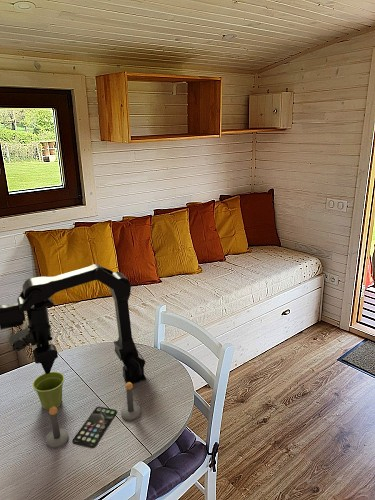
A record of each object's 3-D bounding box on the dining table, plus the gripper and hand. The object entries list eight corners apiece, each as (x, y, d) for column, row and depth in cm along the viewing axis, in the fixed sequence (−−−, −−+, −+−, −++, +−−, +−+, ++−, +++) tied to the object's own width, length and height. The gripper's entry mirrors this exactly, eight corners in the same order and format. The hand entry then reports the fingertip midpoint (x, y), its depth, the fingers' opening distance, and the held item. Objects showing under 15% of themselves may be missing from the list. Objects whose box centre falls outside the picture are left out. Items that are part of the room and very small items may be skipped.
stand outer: (66, 428, 112) (61, 397, 108) (70, 443, 107) (66, 410, 103) (45, 436, 109) (39, 404, 106) (48, 451, 104) (42, 418, 101)
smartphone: (118, 410, 119) (94, 447, 105) (118, 412, 119) (94, 449, 105) (97, 405, 121) (70, 441, 107) (97, 407, 121) (71, 443, 107)
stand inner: (136, 404, 122) (134, 374, 118) (143, 416, 116) (141, 385, 113) (118, 410, 119) (116, 380, 115) (124, 423, 114) (122, 392, 110)
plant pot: (57, 416, 117) (54, 393, 114) (30, 411, 118) (26, 388, 116) (72, 395, 125) (69, 373, 123) (46, 391, 127) (43, 370, 124)
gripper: (6, 313, 116) (14, 356, 121) (11, 343, 101) (20, 391, 106) (44, 305, 121) (50, 347, 126) (54, 332, 105) (61, 379, 110)
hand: (45, 365), depth 117 cm, fingers open, 9 cm apart
